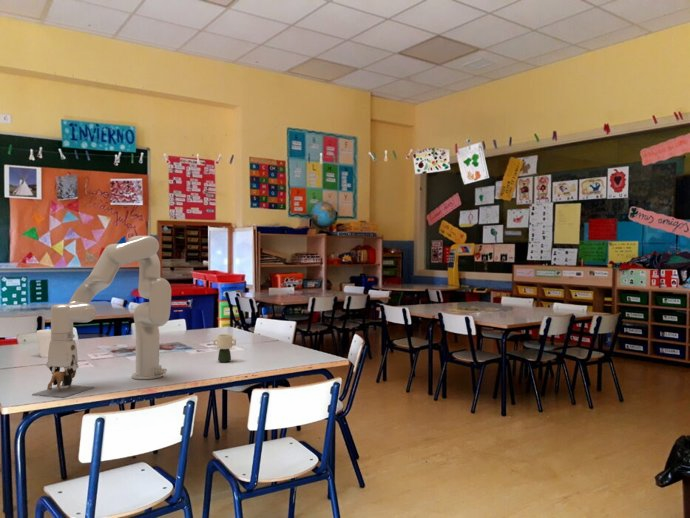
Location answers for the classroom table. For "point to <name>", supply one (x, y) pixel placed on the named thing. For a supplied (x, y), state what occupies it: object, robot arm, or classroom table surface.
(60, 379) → the lion figurine
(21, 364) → the classroom table surface
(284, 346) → the classroom table surface
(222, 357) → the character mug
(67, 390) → the felt mat
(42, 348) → the foam cup
